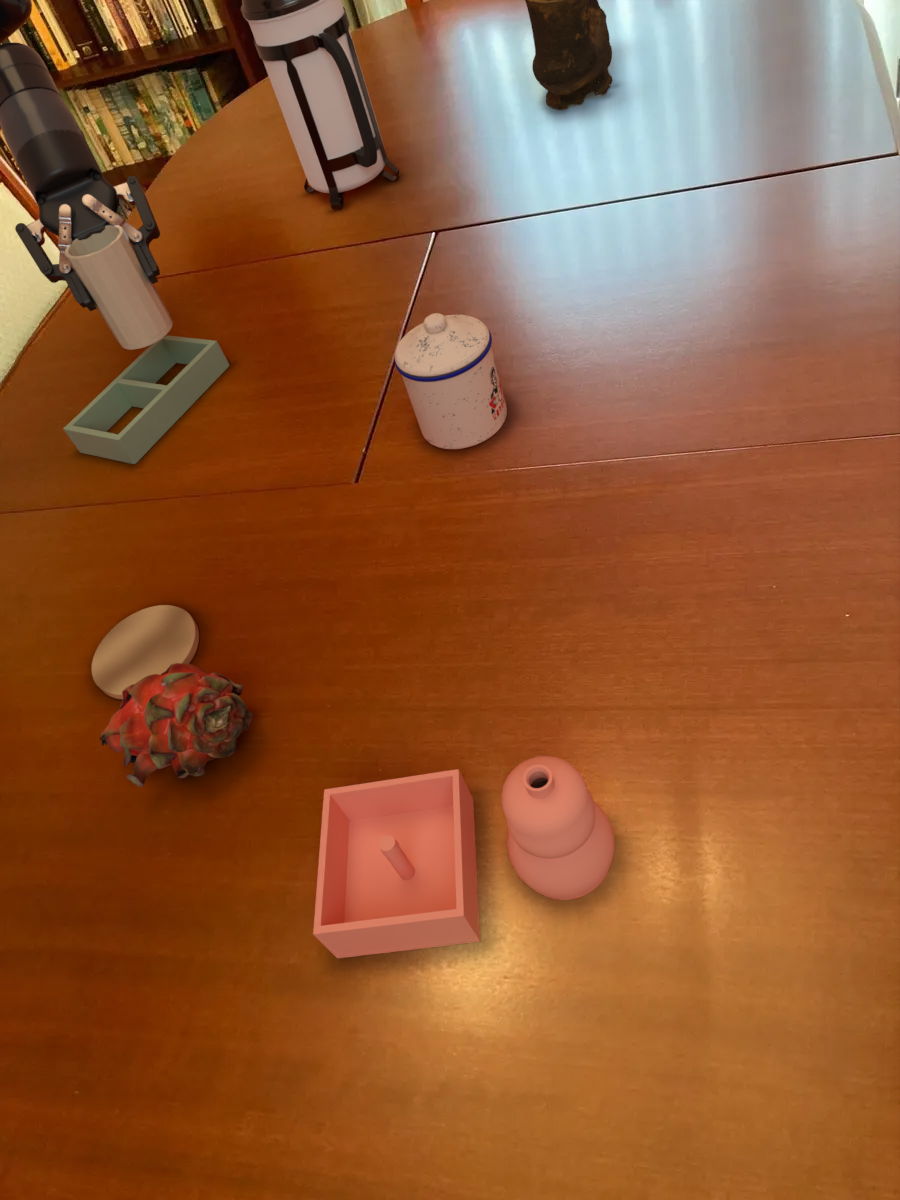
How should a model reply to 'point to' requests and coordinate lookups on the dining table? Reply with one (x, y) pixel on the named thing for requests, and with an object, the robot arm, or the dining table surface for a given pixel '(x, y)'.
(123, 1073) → the dining table surface
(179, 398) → the divided rectangular holder
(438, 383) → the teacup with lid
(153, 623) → the coaster
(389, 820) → the pottery
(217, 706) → the dragon fruit
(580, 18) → the pottery vessel
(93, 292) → the cup
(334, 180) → the coffee press
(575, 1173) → the dining table surface
